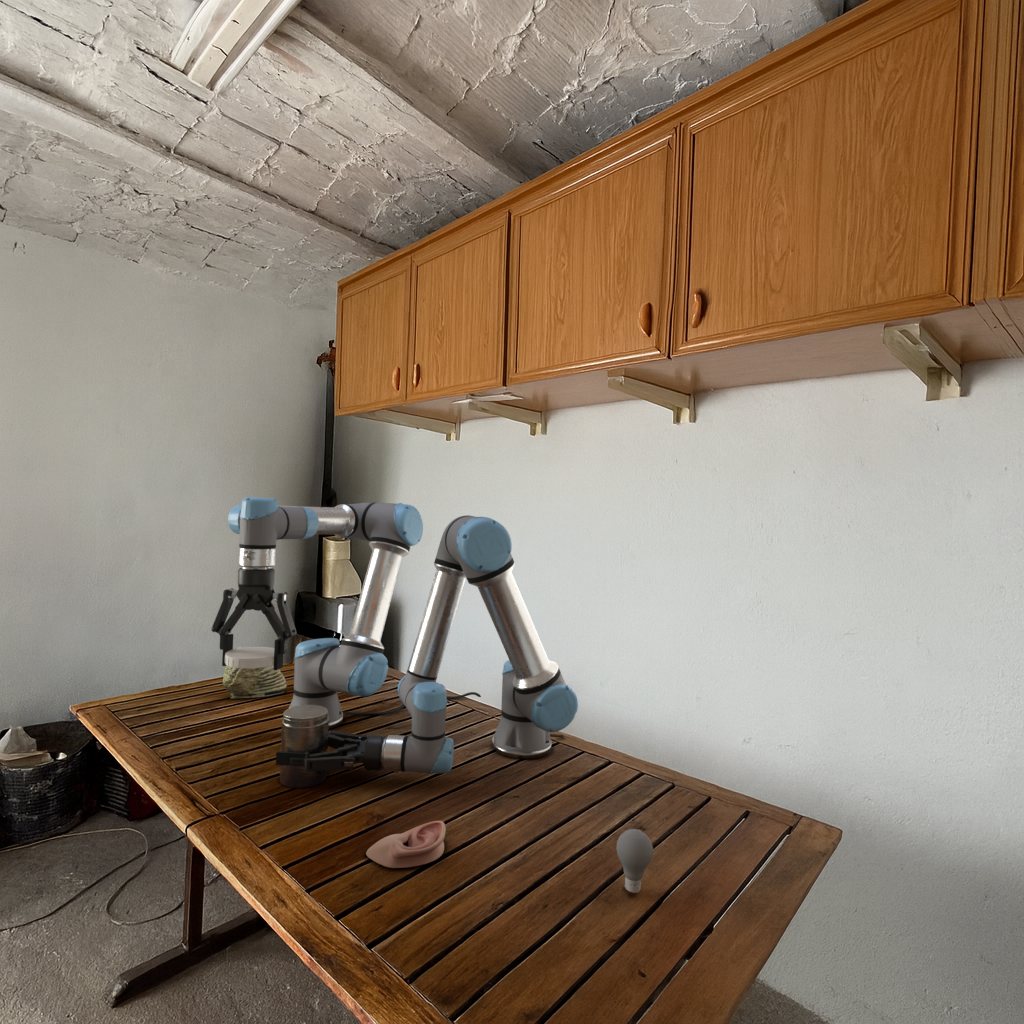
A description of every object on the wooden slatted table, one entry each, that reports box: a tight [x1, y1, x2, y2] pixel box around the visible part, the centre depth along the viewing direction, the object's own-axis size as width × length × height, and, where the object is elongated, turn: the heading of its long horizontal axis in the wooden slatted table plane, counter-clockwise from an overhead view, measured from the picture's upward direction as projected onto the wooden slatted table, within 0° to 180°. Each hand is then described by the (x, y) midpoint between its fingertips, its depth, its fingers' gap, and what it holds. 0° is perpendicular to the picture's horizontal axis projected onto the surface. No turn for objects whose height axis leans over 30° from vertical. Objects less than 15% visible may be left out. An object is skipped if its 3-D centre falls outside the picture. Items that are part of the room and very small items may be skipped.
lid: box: [225, 646, 274, 669], centre depth 139 cm, size 11×11×2 cm
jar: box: [279, 705, 330, 789], centre depth 142 cm, size 10×10×15 cm
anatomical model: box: [365, 820, 447, 869], centre depth 114 cm, size 13×4×12 cm
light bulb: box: [615, 828, 654, 894], centre depth 106 cm, size 6×6×10 cm
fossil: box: [222, 646, 288, 699], centre depth 198 cm, size 9×18×15 cm, turn 132°
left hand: (252, 666), depth 139 cm, fingers closed on lid, 11 cm apart
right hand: (285, 748), depth 142 cm, fingers closed on jar, 10 cm apart
